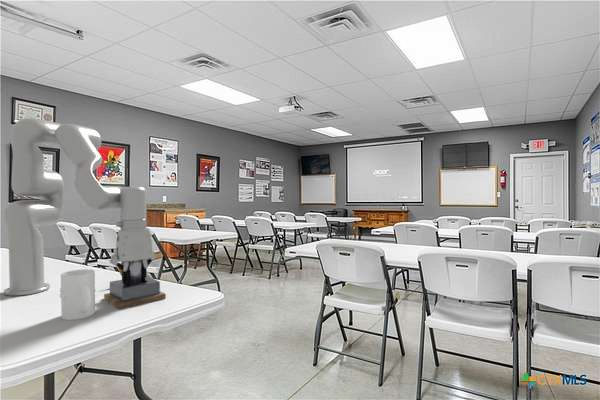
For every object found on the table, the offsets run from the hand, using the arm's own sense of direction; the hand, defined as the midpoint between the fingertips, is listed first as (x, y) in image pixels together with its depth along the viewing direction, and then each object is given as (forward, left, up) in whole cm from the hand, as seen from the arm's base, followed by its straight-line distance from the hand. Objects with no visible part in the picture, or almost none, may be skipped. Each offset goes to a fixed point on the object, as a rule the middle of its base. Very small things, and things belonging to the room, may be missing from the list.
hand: (134, 280), depth 112 cm
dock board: (0, 0, -6) cm, 6 cm away
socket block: (0, 0, -4) cm, 4 cm away
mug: (+6, -17, -6) cm, 19 cm away
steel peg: (0, 0, -1) cm, 1 cm away
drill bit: (-20, +5, -6) cm, 21 cm away
